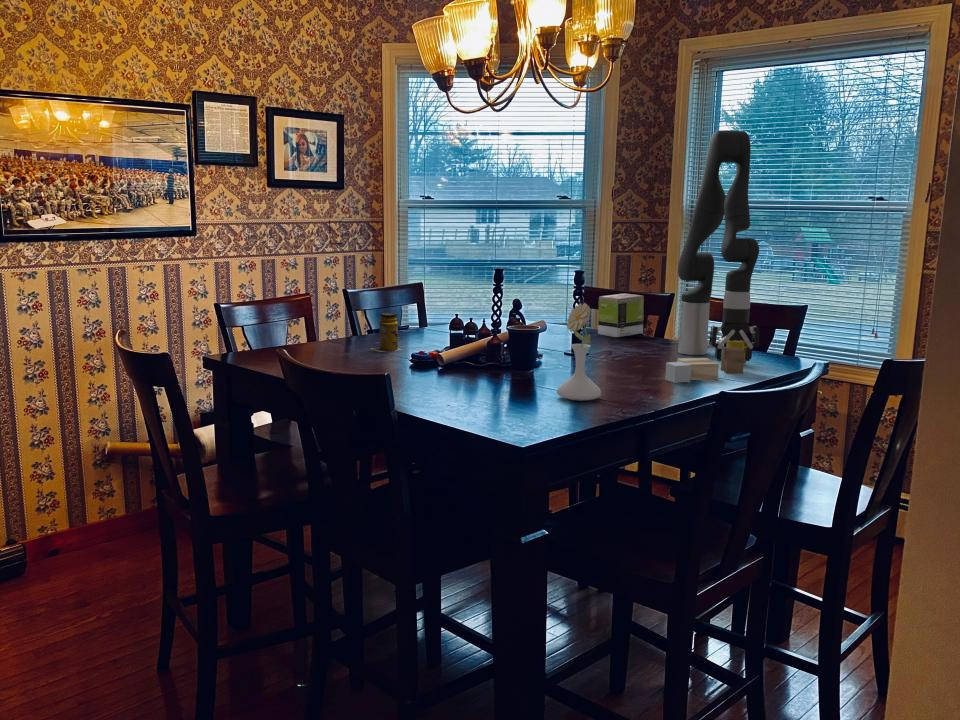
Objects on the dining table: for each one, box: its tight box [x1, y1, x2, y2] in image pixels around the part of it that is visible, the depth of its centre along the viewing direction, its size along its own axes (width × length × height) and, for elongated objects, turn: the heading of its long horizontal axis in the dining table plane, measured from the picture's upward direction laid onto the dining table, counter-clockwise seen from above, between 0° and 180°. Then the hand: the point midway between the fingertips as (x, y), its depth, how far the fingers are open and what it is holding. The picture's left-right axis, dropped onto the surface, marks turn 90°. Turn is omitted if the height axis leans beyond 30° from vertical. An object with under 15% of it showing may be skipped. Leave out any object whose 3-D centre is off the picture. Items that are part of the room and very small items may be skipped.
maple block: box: [676, 357, 720, 381], centre depth 241 cm, size 9×9×5 cm
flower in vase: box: [556, 302, 603, 402], centre depth 211 cm, size 13×11×25 cm
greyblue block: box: [664, 361, 691, 384], centre depth 236 cm, size 5×5×5 cm
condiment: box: [369, 312, 403, 353], centre depth 278 cm, size 7×8×12 cm
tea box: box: [597, 293, 645, 338], centre depth 316 cm, size 15×10×15 cm, turn 130°
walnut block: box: [720, 346, 745, 375], centre depth 250 cm, size 5×5×7 cm
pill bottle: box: [726, 340, 747, 367], centre depth 260 cm, size 6×6×11 cm
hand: (732, 360), depth 249 cm, fingers open, 8 cm apart
